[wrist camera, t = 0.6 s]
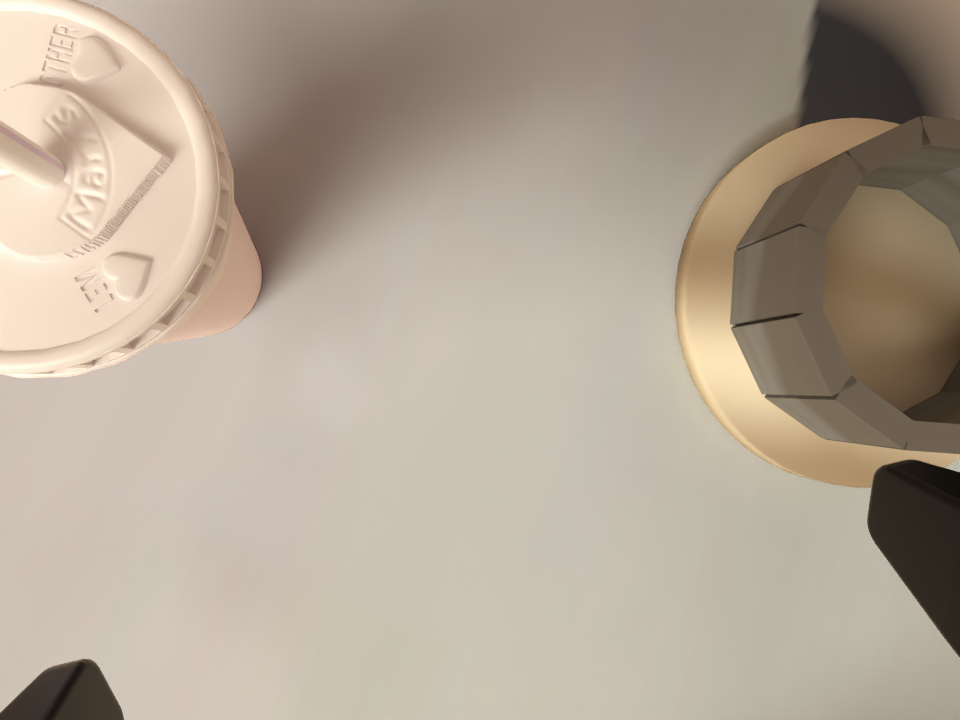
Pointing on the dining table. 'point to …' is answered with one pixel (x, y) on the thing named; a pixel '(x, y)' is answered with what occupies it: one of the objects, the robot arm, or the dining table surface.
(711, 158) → the dining table surface
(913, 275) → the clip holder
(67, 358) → the smoothie
